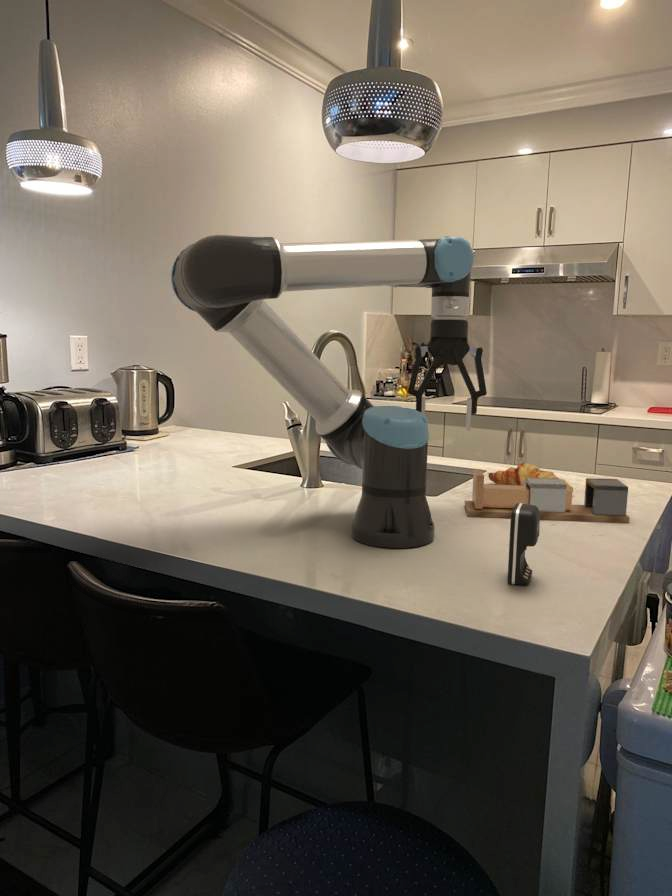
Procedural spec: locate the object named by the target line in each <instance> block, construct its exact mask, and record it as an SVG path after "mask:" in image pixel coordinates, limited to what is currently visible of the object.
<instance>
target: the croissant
mask: <svg viewBox="0 0 672 896" xmlns="http://www.w3.org/2000/svg"><path fill="white" fill-rule="evenodd" d="M526 478H553V479H561V480H562V481H563V482H564V483H565V484H566V485H567V487H568V488H569V489H570V490H571V491H572V493H573V492H574V487H573V486H572V485H570V484H569V483H568V482H567V481H566V480H565V479H562V478H559V477H558V476H557V475H556V474H555V473H554V472H552V471H549V470H547V471H546V470H541V469H540V468H539V467H538V466H536V465H534V464H530V463H527V462H521V463H519V464H518V465H517V467H512V466H511V467H509V468H508V469H506V470H497V471H496V472H488V480H490V481H492V482H493V483H494V484H495V485H518V486H525V485H526Z"/></svg>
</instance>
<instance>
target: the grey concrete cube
mask: <svg viewBox="0 0 672 896" xmlns="http://www.w3.org/2000/svg"><path fill="white" fill-rule="evenodd" d="M561 479H562V478H559V479H553V478H526V485H525V486H530V502H529V505H535V506H537V507H538V509H539V512H545V513H565V504H566V489H567V485H566V484H565V483H564V482H563V481H562V480H561Z"/></svg>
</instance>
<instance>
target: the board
mask: <svg viewBox="0 0 672 896" xmlns="http://www.w3.org/2000/svg"><path fill="white" fill-rule="evenodd" d="M464 509H465V511H466V515H467V517H470V518H471V517H472V518H495V519H511V514H512V510H513V508H492V507H483V509H475V507H474V504H473V501H472V500H464ZM543 520H544V521H546V520H547V521H565V522H566V521H567V522H594V523H595V522H596V523H616V524H617V523H619V524H629V523H630V516H629V515H628V514H626V516H607V515H593V514H592V507H585V506H584V504H571V510H565V513H545V512H540V521H543Z"/></svg>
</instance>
